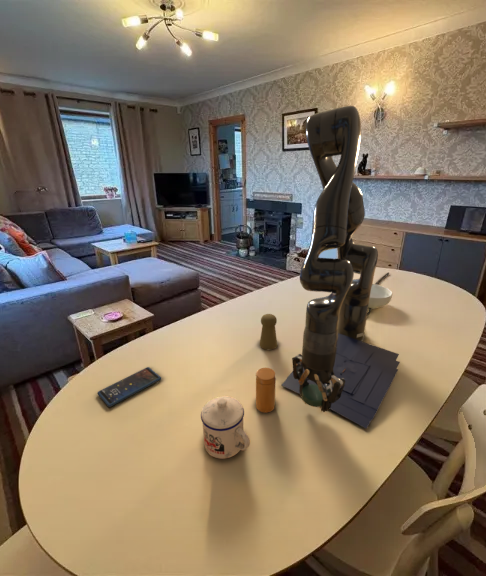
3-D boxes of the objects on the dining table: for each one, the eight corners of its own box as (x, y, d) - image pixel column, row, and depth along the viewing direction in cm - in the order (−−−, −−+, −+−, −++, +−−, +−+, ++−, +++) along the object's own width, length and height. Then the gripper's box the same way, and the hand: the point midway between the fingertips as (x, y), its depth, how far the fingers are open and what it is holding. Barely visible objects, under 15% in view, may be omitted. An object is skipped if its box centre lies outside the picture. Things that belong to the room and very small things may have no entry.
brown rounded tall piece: (275, 350, 101) (276, 321, 96) (257, 348, 102) (257, 319, 97) (278, 340, 106) (279, 312, 102) (261, 339, 107) (261, 310, 103)
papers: (404, 363, 92) (406, 354, 90) (366, 437, 72) (368, 426, 70) (329, 336, 106) (330, 328, 104) (280, 392, 86) (280, 382, 84)
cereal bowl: (393, 302, 134) (396, 287, 132) (385, 317, 121) (388, 301, 119) (354, 294, 143) (356, 280, 140) (343, 307, 130) (344, 292, 127)
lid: (313, 410, 71) (313, 404, 70) (296, 395, 75) (297, 389, 75) (331, 400, 74) (332, 395, 73) (314, 386, 78) (315, 381, 78)
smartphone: (161, 377, 87) (108, 406, 77) (162, 379, 87) (109, 408, 77) (148, 366, 92) (96, 391, 81) (148, 368, 92) (96, 394, 82)
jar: (262, 396, 81) (262, 364, 77) (278, 403, 79) (279, 371, 75) (252, 407, 77) (252, 375, 74) (268, 415, 75) (269, 382, 71)
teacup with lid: (194, 443, 68) (190, 402, 63) (225, 419, 74) (223, 380, 69) (233, 478, 60) (231, 434, 56) (263, 448, 67) (263, 406, 62)
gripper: (357, 351, 66) (348, 411, 73) (305, 326, 76) (301, 381, 83) (336, 365, 62) (329, 428, 68) (284, 337, 72) (282, 394, 78)
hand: (314, 402), depth 75 cm, fingers closed on lid, 6 cm apart
